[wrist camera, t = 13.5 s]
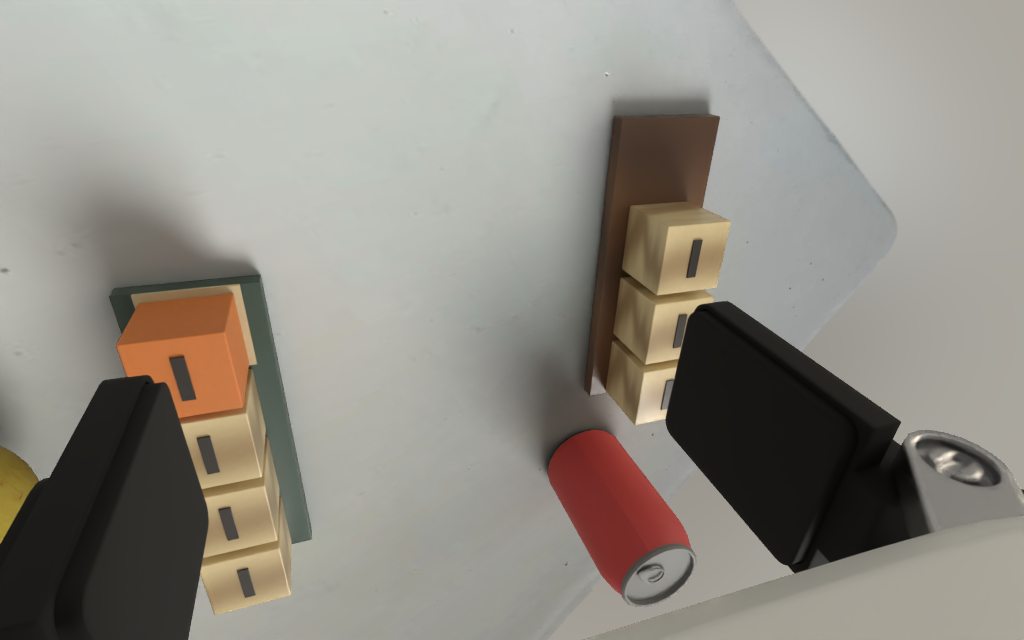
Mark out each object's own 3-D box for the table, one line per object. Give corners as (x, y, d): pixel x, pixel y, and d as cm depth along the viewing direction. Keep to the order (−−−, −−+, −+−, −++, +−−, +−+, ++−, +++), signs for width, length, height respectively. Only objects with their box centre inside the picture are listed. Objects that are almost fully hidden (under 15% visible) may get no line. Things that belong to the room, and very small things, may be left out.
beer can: (573, 416, 43) (656, 534, 33) (630, 436, 47) (722, 549, 37) (530, 479, 45) (597, 609, 35) (588, 494, 48) (664, 617, 38)
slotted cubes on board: (613, 115, 33) (664, 130, 29) (710, 114, 35) (772, 127, 31) (583, 389, 42) (618, 433, 38) (661, 375, 45) (703, 415, 40)
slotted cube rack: (114, 288, 28) (79, 339, 24) (260, 274, 30) (254, 318, 26) (203, 553, 38) (191, 627, 33) (311, 528, 40) (313, 594, 35)
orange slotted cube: (138, 302, 28) (114, 346, 24) (233, 292, 29) (224, 332, 26) (161, 375, 30) (142, 425, 26) (249, 362, 31) (243, 409, 28)
